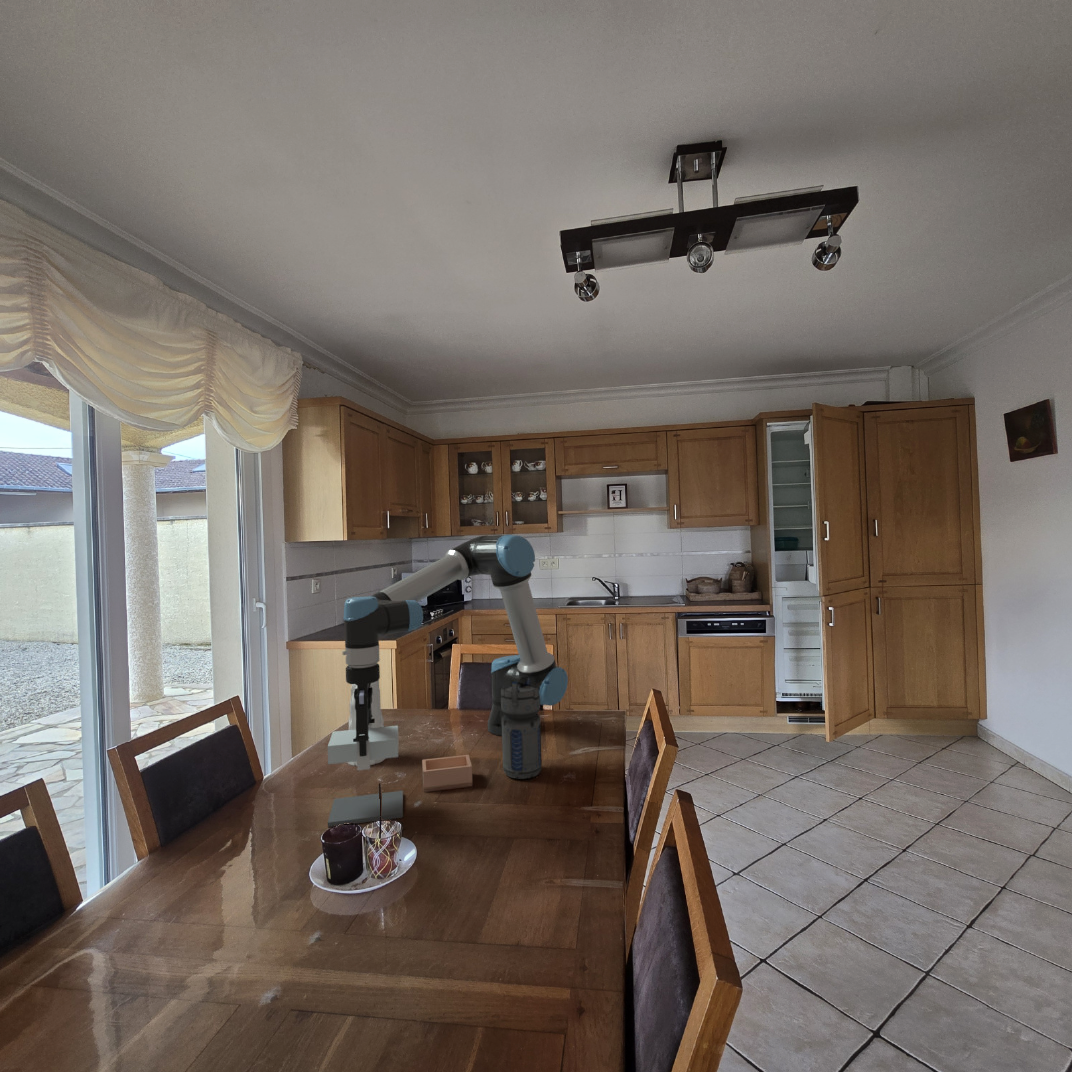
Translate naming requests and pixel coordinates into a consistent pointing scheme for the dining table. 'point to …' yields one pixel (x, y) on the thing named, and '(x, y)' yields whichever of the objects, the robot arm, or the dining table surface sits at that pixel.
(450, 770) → the brown open box
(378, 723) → the white ridged column
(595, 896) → the dining table surface
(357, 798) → the mat
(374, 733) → the board
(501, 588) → the robot arm
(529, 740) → the beverage bottle
